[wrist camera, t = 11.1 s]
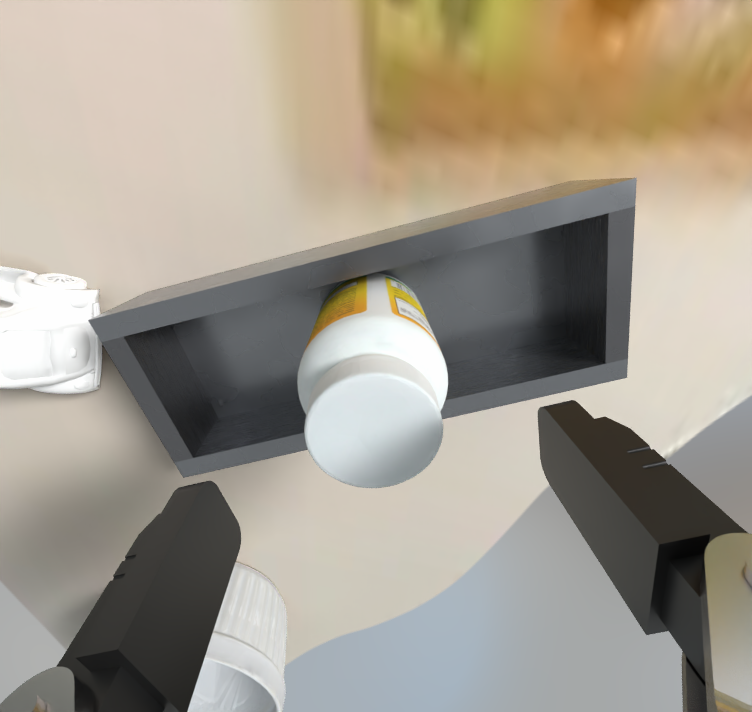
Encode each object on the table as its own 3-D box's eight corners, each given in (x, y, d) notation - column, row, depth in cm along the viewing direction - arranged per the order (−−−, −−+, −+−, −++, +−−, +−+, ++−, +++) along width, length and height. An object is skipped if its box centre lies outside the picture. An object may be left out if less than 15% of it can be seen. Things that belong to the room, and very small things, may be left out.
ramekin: (160, 654, 32) (111, 768, 26) (100, 552, 27) (20, 664, 20) (310, 640, 32) (298, 750, 26) (281, 534, 27) (256, 641, 20)
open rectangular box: (146, 292, 19) (87, 320, 15) (572, 180, 18) (636, 177, 14) (215, 425, 23) (183, 477, 18) (575, 341, 21) (626, 377, 17)
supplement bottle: (429, 275, 18) (490, 359, 9) (414, 371, 20) (451, 510, 12) (320, 265, 18) (279, 342, 9) (316, 364, 20) (280, 501, 11)
